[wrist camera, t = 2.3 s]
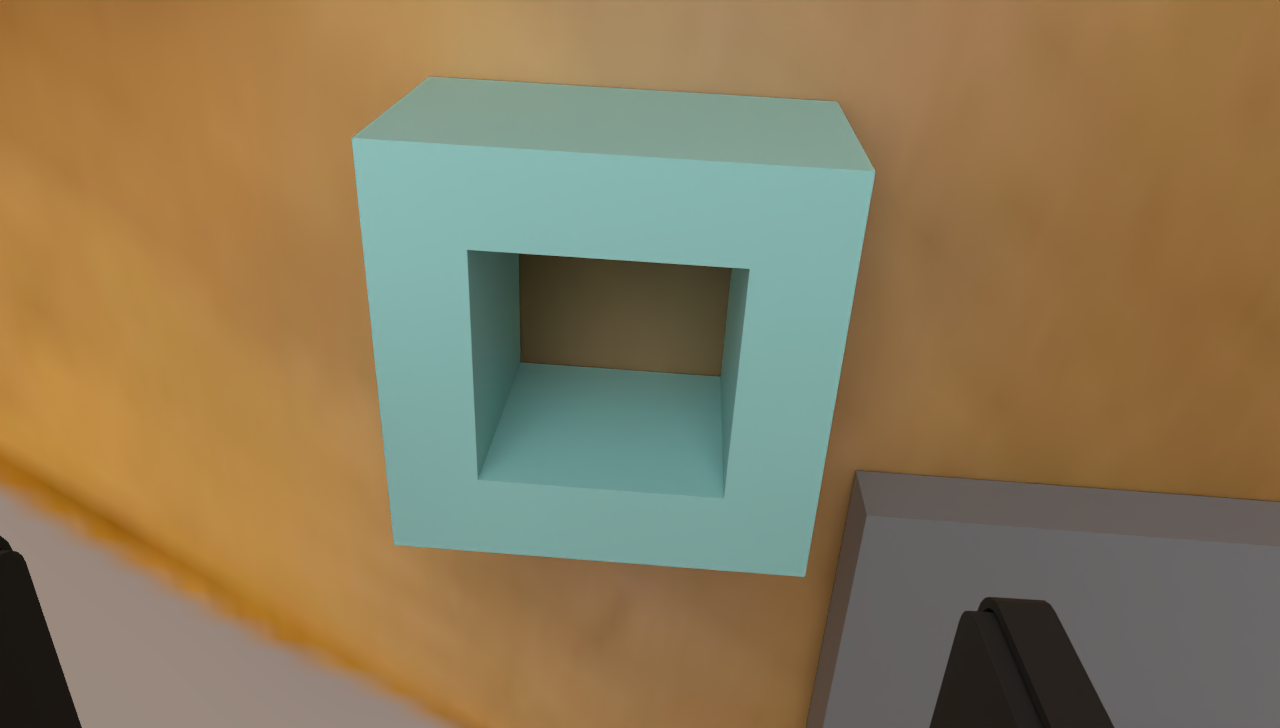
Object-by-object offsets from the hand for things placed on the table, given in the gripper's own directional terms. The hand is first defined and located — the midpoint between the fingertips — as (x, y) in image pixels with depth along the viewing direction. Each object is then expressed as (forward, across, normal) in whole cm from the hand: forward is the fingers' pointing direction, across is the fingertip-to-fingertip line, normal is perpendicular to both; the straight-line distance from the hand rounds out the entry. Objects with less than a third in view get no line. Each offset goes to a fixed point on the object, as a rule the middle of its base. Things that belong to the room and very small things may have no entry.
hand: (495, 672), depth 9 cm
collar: (+9, -1, 0) cm, 9 cm away
